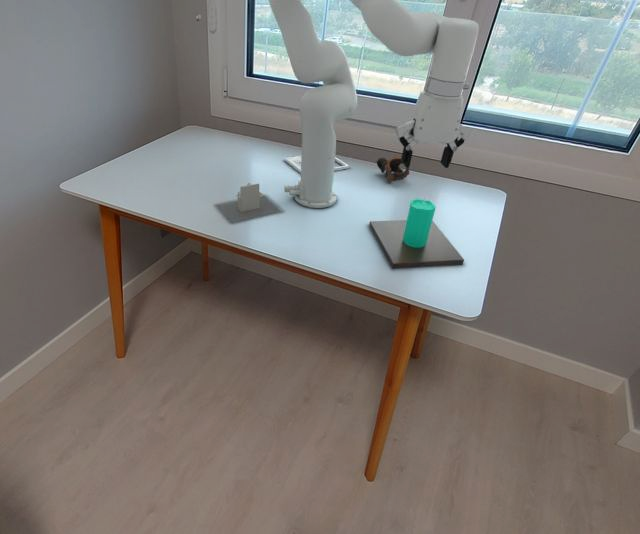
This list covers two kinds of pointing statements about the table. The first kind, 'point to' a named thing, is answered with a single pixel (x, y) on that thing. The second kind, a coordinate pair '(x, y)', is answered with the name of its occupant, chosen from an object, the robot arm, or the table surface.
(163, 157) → the table surface
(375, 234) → the serving board
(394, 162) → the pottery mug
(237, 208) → the architectural model
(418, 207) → the candle
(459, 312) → the table surface
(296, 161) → the photo frame
